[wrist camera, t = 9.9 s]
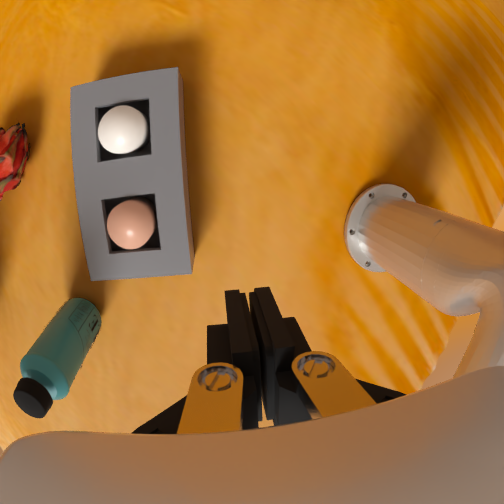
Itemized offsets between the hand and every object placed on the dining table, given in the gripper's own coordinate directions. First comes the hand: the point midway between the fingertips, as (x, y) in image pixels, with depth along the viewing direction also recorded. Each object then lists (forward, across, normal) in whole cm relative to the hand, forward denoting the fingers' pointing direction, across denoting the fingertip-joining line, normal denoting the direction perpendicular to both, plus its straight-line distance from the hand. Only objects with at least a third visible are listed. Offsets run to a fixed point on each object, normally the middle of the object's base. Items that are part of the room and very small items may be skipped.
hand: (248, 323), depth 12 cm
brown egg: (+25, +10, 0) cm, 26 cm away
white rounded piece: (+25, +10, -10) cm, 28 cm away
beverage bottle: (+27, +21, +13) cm, 37 cm away
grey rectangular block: (+27, +10, -5) cm, 29 cm away
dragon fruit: (+27, +29, -10) cm, 41 cm away
